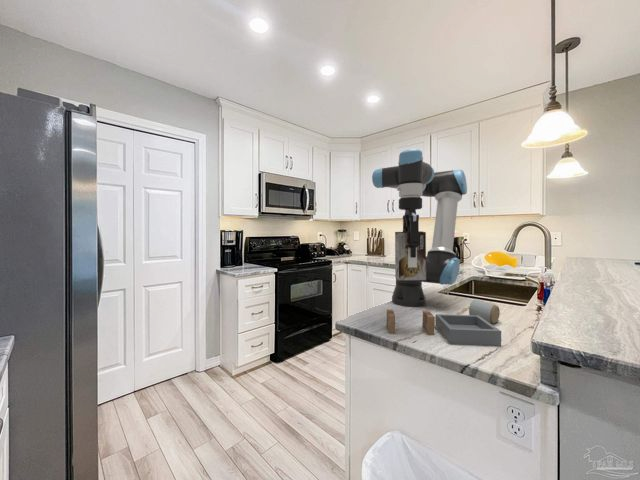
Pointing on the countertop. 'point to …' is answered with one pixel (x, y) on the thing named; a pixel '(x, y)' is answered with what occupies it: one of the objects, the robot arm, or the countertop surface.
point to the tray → (467, 330)
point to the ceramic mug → (485, 310)
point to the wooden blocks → (427, 321)
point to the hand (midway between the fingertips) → (410, 265)
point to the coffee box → (402, 257)
